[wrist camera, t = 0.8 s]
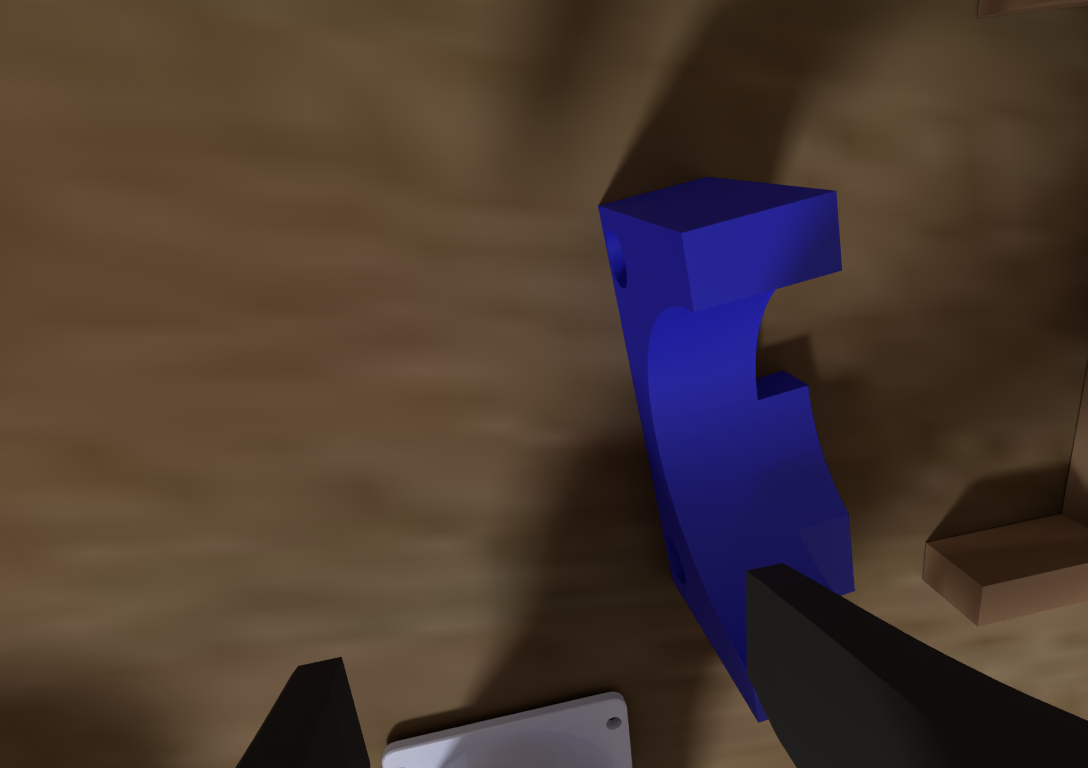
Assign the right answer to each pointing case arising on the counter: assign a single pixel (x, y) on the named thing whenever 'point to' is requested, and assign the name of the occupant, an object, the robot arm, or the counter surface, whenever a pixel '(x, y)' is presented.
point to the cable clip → (727, 391)
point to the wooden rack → (1027, 547)
